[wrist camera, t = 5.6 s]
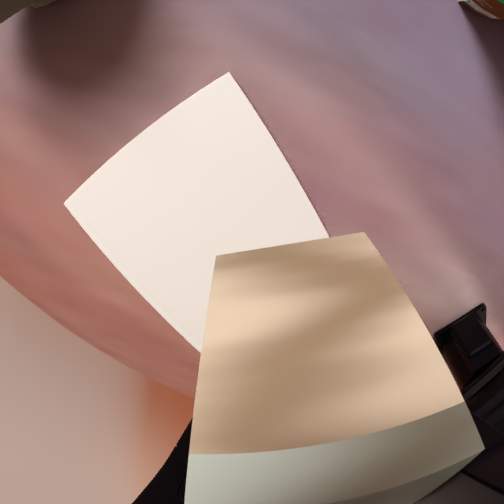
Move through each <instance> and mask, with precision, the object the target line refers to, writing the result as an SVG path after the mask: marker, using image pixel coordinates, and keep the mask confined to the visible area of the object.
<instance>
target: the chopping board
mask: <svg viewBox="0 0 504 504" xmlns="http://www.w3.org/2000/svg"><path fill="white" fill-rule="evenodd" d="M64 205H65V206H66V207H67V209H68V210H69V211H70V212H71V214H72V215H73V216H74V218H75V219H76V220H77V221H78V223H79V224H80V225H81V226H82V228H83V229H84V230H85V231H86V233H87V234H88V235H89V236H90V237H91V239H92V240H93V241H94V242H95V243H96V245H97V246H98V247H99V248H100V249H101V250H102V252H103V253H104V254H105V255H106V256H107V257H108V259H109V260H110V261H111V262H112V263H113V264H114V265H115V267H116V268H117V269H118V270H119V271H120V272H121V273H122V274H123V276H124V277H125V278H126V279H127V280H128V281H129V282H130V283H131V284H132V285H133V286H134V287H135V289H136V290H137V291H138V292H139V293H140V294H141V295H142V296H143V297H144V298H145V299H146V300H147V301H148V302H149V303H150V304H151V305H152V306H153V307H154V308H155V309H156V310H157V311H158V312H159V313H160V314H161V315H162V316H163V317H164V318H165V319H166V320H167V321H168V322H169V323H170V324H171V325H172V326H173V327H174V328H175V329H176V330H177V331H178V332H179V333H180V334H181V335H182V336H183V337H184V338H185V339H186V340H187V341H188V342H189V343H190V344H192V345H193V346H194V347H195V348H196V349H197V350H198V351H199V352H200V353H201V350H202V343H203V336H204V329H205V322H206V316H207V309H208V302H209V296H210V290H211V283H212V277H213V271H214V265H215V259H216V256H217V255H223V254H229V253H236V252H242V251H248V250H254V249H261V248H267V247H273V246H279V245H286V244H292V243H298V242H304V241H311V240H317V239H323V238H329V235H328V233H327V231H326V229H325V228H324V226H323V224H322V222H321V220H320V218H319V217H318V215H317V213H316V211H315V209H314V207H313V206H312V204H311V202H310V200H309V199H308V197H307V195H306V193H305V191H304V190H303V188H302V186H301V184H300V183H299V181H298V179H297V178H296V176H295V174H294V172H293V171H292V169H291V167H290V166H289V164H288V162H287V161H286V159H285V157H284V156H283V154H282V152H281V151H280V149H279V147H278V146H277V144H276V142H275V141H274V139H273V138H272V136H271V134H270V133H269V131H268V130H267V128H266V126H265V125H264V123H263V122H262V120H261V119H260V117H259V115H258V114H257V112H256V111H255V109H254V108H253V106H252V105H251V103H250V102H249V100H248V99H247V97H246V96H245V94H244V93H243V91H242V90H241V88H240V87H239V85H238V84H237V82H236V81H235V79H234V78H233V77H232V75H231V74H230V72H228V73H226V74H225V75H223V76H221V77H220V78H218V79H217V80H215V81H213V82H212V83H210V84H209V85H207V86H206V87H204V88H203V89H201V90H199V91H198V92H196V93H195V94H193V95H192V96H190V97H189V98H188V99H186V100H185V101H183V102H182V103H180V104H179V105H177V106H176V107H175V108H173V109H172V110H171V111H169V112H168V113H166V114H165V115H164V116H162V117H161V118H160V119H158V120H157V121H156V122H154V123H153V124H152V125H150V126H149V127H148V128H147V129H145V130H144V131H143V132H142V133H140V134H139V135H138V136H137V137H135V138H134V139H133V140H132V141H130V142H129V143H128V144H127V145H126V146H124V147H123V148H122V149H121V150H120V151H119V152H117V153H116V154H115V155H114V156H113V157H112V158H110V159H109V160H108V161H107V162H106V163H105V164H104V165H103V166H102V167H100V168H99V169H98V170H97V171H96V172H95V173H94V174H93V175H92V176H91V177H90V178H89V179H88V180H87V181H85V182H84V183H83V184H82V185H81V186H80V187H79V188H78V189H77V190H76V191H75V192H74V193H73V194H72V195H71V196H70V197H69V198H68V199H67V200H66V201H65V202H64Z"/></svg>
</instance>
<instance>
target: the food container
mask: <svg viewBox="0 0 504 504" xmlns="http://www.w3.org/2000/svg"><path fill="white" fill-rule="evenodd" d="M458 2H459V3H460V4H462V5H463V6H464V7H466V8H467V9H468V10H470V11H472V12H474V13H476V14H478V15H480V16H482V17H484V18H490V19H496V20H504V0H458Z"/></svg>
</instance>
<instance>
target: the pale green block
mask: <svg viewBox="0 0 504 504" xmlns="http://www.w3.org/2000/svg"><path fill="white" fill-rule="evenodd" d="M484 449H485V447H484V445H483V442H482V440H481V437H480V435H479V432H478V430H477V428H476V425H475V423H474V421H473V418H472V416H471V414H470V412H469V409H468V407H467V405H466V403H465V401H464V399H463V397H462V394H461V392H460V390H459V388H458V386H457V384H456V382H455V380H454V378H453V376H452V374H451V372H450V370H449V368H448V366H447V364H446V363H445V361H444V359H443V357H442V355H441V353H440V351H439V350H438V348H437V346H436V344H435V342H434V341H433V339H432V337H431V335H430V333H429V332H428V330H427V328H426V326H425V325H424V323H423V321H422V320H421V318H420V316H419V315H418V313H417V311H416V310H415V308H414V306H413V305H412V303H411V301H410V300H409V298H408V297H407V295H406V293H405V292H404V290H403V289H402V287H401V286H400V284H399V282H398V281H397V279H396V278H395V276H394V275H393V273H392V272H391V270H390V269H389V267H388V266H387V264H386V263H385V261H384V260H383V258H382V257H381V255H380V254H379V252H378V251H377V250H376V248H375V247H374V245H373V244H372V242H371V241H370V240H369V238H368V237H367V235H366V234H365V233H364V232H361V233H355V234H348V235H342V236H336V237H329V238H323V239H317V240H311V241H304V242H298V243H292V244H286V245H279V246H273V247H267V248H261V249H254V250H248V251H242V252H236V253H229V254H223V255H217V256H216V259H215V265H214V271H213V277H212V283H211V290H210V296H209V302H208V309H207V316H206V322H205V329H204V336H203V343H202V350H201V358H200V365H199V372H198V380H197V388H196V396H195V405H194V413H193V421H192V429H191V438H190V448H189V457H188V467H187V478H186V488H185V500H184V504H413V503H415V502H417V501H418V500H420V499H421V498H423V497H424V496H426V495H427V494H429V493H430V492H432V491H433V490H434V489H436V488H437V487H439V486H440V485H441V484H443V483H444V482H445V481H447V480H448V479H449V478H451V477H452V476H453V475H455V474H456V473H457V472H458V471H460V470H461V469H462V468H463V467H465V466H466V465H467V464H468V463H469V462H471V461H472V460H473V459H474V458H475V457H476V456H477V455H479V454H480V453H481V452H482V451H483V450H484Z"/></svg>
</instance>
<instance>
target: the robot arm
mask: <svg viewBox="0 0 504 504" xmlns="http://www.w3.org/2000/svg"><path fill="white" fill-rule="evenodd" d="M434 339H435V344H436V346H437V348H438V350H439V351H440V353H441V355H442V357H443V359H444V361H445V363H447V364H448V366H449V368H450V370H451V372H452V374H453V376H454V378H455V380H456V382H457V384H458V386H459V388H460V390H461V391H460V392H461V394H462V397H463V399H464V401H465V403H466V405H467V407H468V409H469V412H470V414H471V416H472V418H473V421H474V423H475V425H476V428H477V430H478V432H479V435H480V437H481V440H482V442H483V445H484V447H485V449H484V450H483V451H482V452H481V453H480V454H479V455H477V456H476V457H475V458H474V459H473V460H472V461H471V462H469V463H468V464H467V465H466V466H465V467H463V468H462V469H461V470H460V471H458V472H457V473H456V474H455V475H453V476H452V477H451V478H449V479H448V480H447V481H445V482H444V483H443V484H441V485H440V486H439V487H437V488H436V489H434V490H433V491H432V492H430V493H429V494H427V495H426V496H424V497H423V498H421V499H420V500H418V501H417V502H415V503H413V504H504V351H503V350H502V348H501V347H500V345H499V344H498V342H497V341H496V339H495V338H494V336H493V335H492V334H491V332H490V331H489V329H488V328H487V326H486V305H485V304H484V303H482V304H480V305H479V306H478V307H476V308H475V309H473V310H472V311H470V312H468V313H467V314H465V315H464V316H462V317H461V318H459V319H458V320H456V321H454V322H453V323H451V324H449V325H448V326H446V327H444V328H443V329H441V330H439V331H438V332H436V333H435V335H434ZM192 421H193V418H192V419H191V421H190V423H189V424H188V426H187V428H186V429H185V431H184V433H183V434H182V436H181V438H180V439H179V441H178V443H177V446H176V447H174V449H173V451H172V452H171V454H170V456H169V457H168V459H167V460H166V462H165V463H164V465H163V467H162V468H161V469H160V470H159V472H158V473H157V474H156V475H155V477H154V478H153V480H152V481H151V482H150V483H149V484H148V485H147V487H146V488H145V489H144V490H143V491H142V492H141V494H140V495H139V496H138V497H137V499H136V500H135V501H134V502H133V503H132V504H184V500H185V488H186V478H187V467H188V457H189V448H190V438H191V429H192Z"/></svg>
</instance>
